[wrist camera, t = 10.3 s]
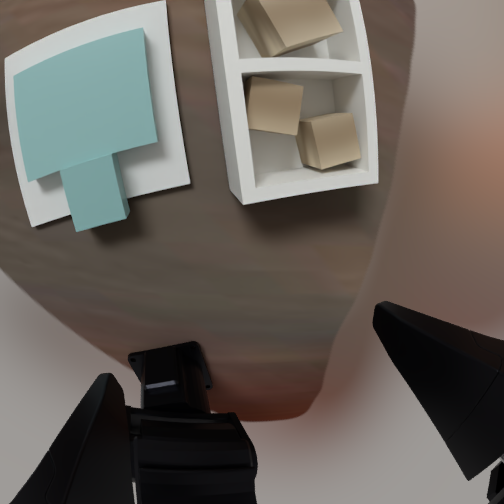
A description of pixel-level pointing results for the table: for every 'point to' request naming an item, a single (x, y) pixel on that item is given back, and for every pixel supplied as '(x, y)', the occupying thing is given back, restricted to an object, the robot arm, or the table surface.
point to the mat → (130, 161)
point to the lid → (87, 121)
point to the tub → (313, 104)
